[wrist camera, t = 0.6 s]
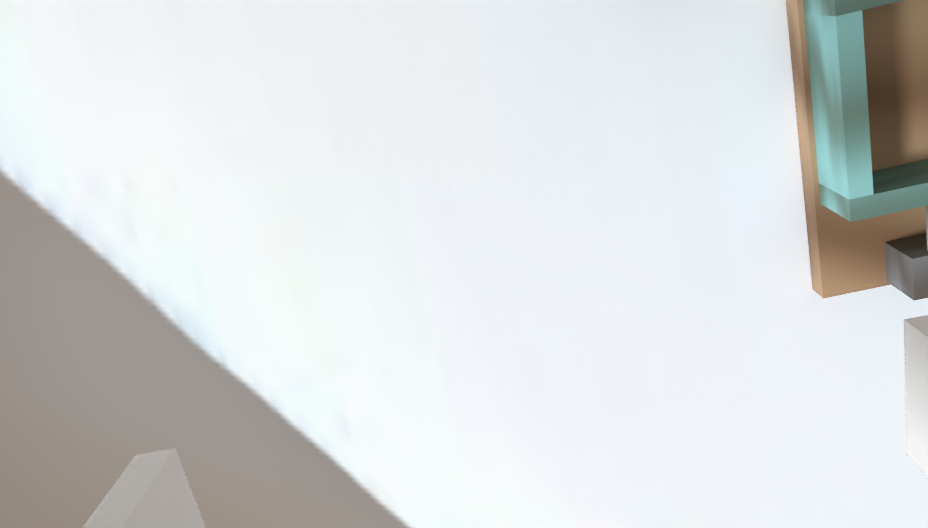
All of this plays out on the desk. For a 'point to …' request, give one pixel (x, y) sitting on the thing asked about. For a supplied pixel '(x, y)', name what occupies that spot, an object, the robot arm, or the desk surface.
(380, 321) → the desk surface
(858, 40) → the block
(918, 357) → the robot arm
